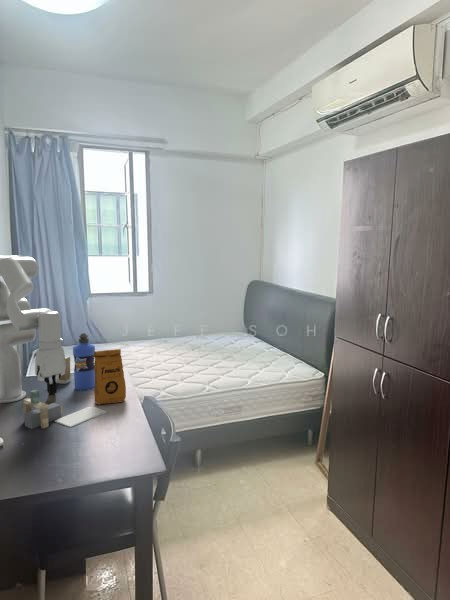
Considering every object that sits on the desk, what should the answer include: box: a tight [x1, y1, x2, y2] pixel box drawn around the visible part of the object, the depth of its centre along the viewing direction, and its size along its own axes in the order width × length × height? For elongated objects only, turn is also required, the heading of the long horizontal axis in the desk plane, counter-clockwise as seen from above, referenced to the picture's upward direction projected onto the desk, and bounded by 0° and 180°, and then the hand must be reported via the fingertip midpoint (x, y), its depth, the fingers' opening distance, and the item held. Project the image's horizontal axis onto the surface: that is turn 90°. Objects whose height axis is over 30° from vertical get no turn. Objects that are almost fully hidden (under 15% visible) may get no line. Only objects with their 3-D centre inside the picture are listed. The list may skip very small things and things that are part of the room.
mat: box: [54, 406, 107, 428], centre depth 152 cm, size 9×16×1 cm, turn 148°
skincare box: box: [57, 356, 71, 385], centre depth 191 cm, size 6×4×12 cm
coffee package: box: [93, 348, 127, 405], centre depth 167 cm, size 10×12×22 cm
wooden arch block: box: [22, 389, 49, 430], centre depth 145 cm, size 12×2×12 cm, turn 58°
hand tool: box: [44, 393, 57, 405], centre depth 163 cm, size 19×4×5 cm, turn 13°
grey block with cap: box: [23, 402, 63, 430], centre depth 148 cm, size 4×13×5 cm, turn 148°
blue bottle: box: [72, 333, 96, 392], centre depth 183 cm, size 9×9×25 cm
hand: (52, 392), depth 150 cm, fingers closed
